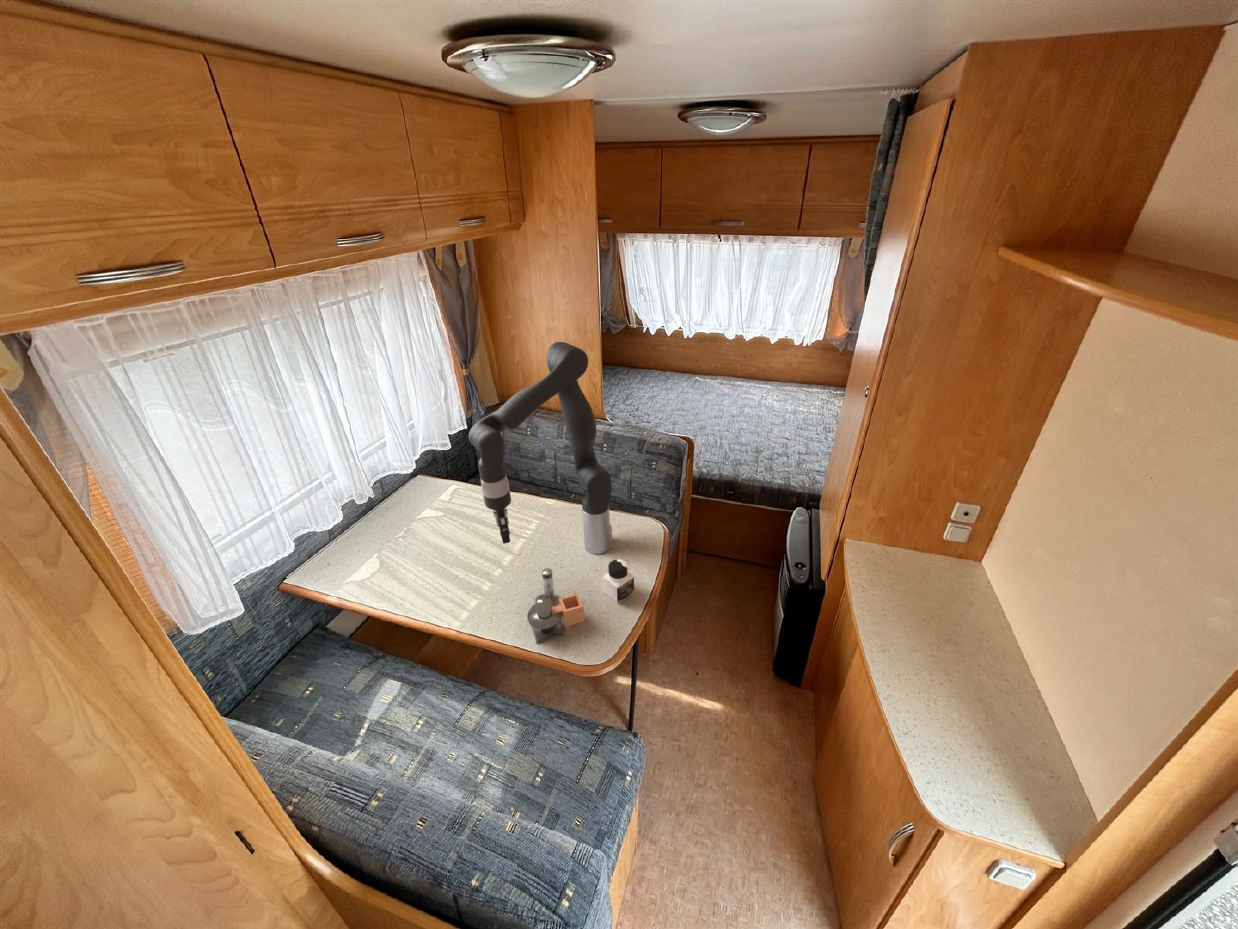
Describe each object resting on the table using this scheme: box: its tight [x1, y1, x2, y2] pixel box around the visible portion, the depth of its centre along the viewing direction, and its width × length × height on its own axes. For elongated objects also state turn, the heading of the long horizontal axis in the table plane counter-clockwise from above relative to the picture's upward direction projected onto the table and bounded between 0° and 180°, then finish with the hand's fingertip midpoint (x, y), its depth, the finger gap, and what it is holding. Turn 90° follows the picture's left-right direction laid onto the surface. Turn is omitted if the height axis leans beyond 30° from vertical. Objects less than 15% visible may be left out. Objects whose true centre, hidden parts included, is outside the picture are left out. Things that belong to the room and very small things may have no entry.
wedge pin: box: [541, 567, 556, 601], centre depth 160 cm, size 3×3×11 cm
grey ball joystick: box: [527, 593, 564, 644], centre depth 149 cm, size 10×10×12 cm
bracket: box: [552, 592, 585, 627], centre depth 151 cm, size 9×6×6 cm, turn 111°
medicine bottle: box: [602, 558, 635, 604], centre depth 161 cm, size 7×7×12 cm
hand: (504, 533), depth 155 cm, fingers open, 8 cm apart
